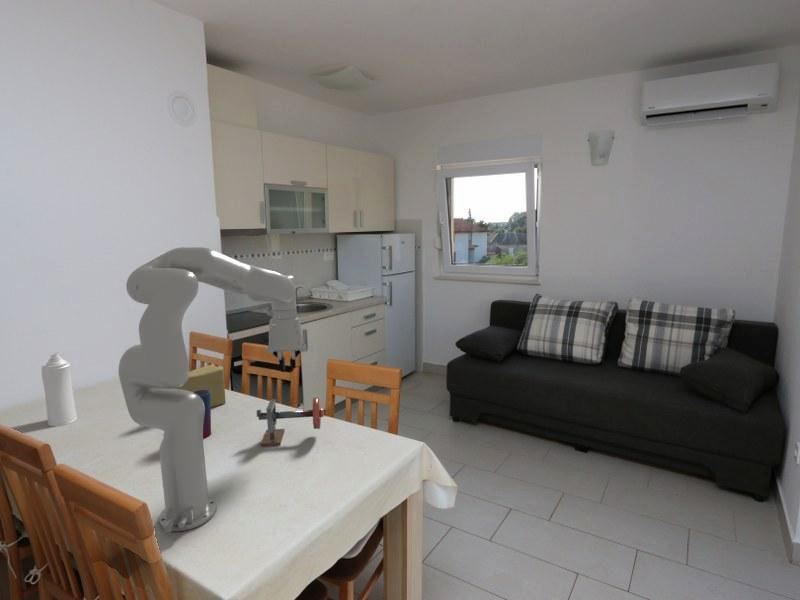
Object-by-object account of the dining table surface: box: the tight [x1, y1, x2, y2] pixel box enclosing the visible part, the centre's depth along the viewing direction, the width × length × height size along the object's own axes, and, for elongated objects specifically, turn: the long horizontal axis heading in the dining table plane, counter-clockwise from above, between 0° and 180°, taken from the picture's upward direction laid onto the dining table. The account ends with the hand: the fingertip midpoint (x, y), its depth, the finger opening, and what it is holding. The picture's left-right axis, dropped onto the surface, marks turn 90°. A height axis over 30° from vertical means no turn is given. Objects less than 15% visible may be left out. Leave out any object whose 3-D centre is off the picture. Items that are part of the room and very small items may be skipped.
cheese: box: [174, 364, 226, 408], centre depth 176 cm, size 22×10×15 cm, turn 144°
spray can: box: [41, 351, 78, 427], centre depth 169 cm, size 12×11×25 cm
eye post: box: [260, 398, 285, 447], centre depth 152 cm, size 10×6×12 cm, turn 6°
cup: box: [191, 389, 212, 439], centre depth 155 cm, size 7×7×15 cm
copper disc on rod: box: [256, 397, 325, 430], centre depth 152 cm, size 10×21×10 cm, turn 96°
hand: (287, 370), depth 150 cm, fingers closed
